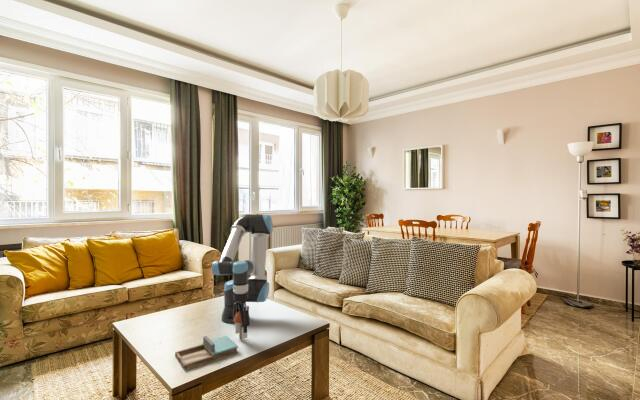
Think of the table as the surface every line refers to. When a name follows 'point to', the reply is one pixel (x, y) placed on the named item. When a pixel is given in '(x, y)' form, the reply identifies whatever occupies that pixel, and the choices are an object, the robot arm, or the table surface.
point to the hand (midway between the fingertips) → (241, 335)
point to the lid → (219, 344)
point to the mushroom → (238, 320)
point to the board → (199, 356)
